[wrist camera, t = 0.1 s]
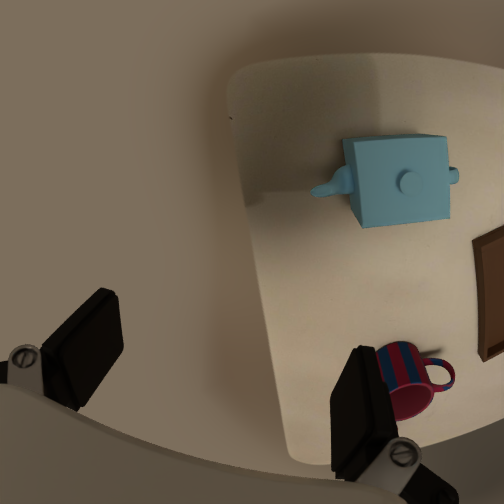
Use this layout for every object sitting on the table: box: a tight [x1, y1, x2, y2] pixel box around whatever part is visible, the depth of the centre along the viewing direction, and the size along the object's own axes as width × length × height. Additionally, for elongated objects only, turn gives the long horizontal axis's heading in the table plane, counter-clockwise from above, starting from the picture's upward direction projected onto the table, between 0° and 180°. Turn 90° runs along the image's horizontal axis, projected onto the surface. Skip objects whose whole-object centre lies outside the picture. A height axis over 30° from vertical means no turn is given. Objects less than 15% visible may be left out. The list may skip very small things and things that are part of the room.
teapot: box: [310, 134, 459, 228], centre depth 21 cm, size 12×6×8 cm, turn 101°
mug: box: [376, 342, 455, 421], centre depth 29 cm, size 7×10×7 cm
